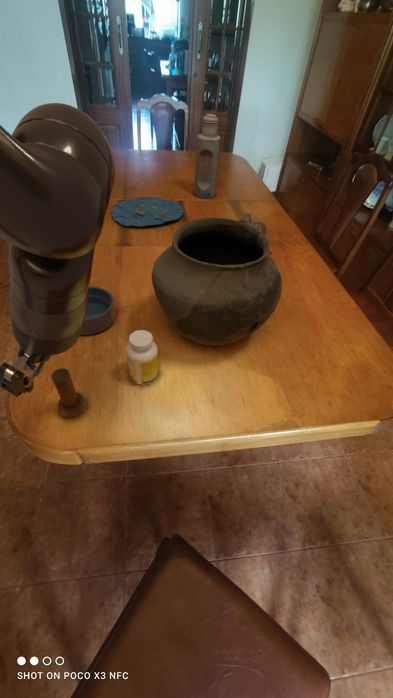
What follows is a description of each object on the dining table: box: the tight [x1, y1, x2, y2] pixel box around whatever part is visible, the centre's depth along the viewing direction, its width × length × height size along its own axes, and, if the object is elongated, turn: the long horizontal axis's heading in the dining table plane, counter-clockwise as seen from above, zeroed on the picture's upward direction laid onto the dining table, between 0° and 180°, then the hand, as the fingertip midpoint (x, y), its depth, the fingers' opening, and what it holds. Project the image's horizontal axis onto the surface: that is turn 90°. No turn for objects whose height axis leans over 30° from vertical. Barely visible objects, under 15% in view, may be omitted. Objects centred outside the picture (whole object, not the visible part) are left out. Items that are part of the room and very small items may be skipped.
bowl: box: [79, 285, 117, 336], centre depth 81 cm, size 14×14×6 cm
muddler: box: [50, 367, 87, 420], centre depth 60 cm, size 5×5×11 cm
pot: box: [151, 217, 283, 346], centre depth 75 cm, size 29×32×25 cm
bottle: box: [193, 113, 221, 199], centre depth 135 cm, size 10×10×30 cm
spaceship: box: [241, 212, 273, 255], centre depth 114 cm, size 8×35×8 cm
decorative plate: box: [110, 196, 184, 228], centre depth 126 cm, size 30×30×5 cm
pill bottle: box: [125, 329, 160, 385], centre depth 67 cm, size 6×6×12 cm
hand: (44, 365), depth 48 cm, fingers open, 8 cm apart
